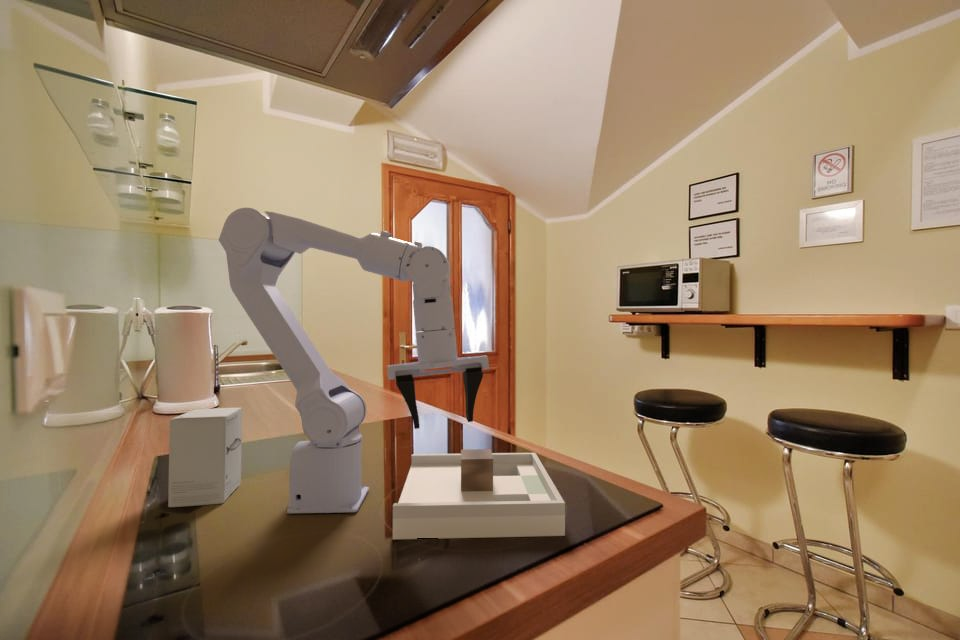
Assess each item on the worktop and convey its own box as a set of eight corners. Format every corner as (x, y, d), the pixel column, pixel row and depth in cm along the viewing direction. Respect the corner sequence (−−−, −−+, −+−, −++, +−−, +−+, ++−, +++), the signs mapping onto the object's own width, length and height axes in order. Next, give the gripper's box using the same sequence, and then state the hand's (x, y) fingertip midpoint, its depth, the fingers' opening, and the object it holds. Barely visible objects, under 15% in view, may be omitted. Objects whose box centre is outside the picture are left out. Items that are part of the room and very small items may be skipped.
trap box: (392, 539, 50) (392, 506, 50) (411, 477, 70) (412, 454, 70) (565, 535, 51) (565, 502, 51) (535, 476, 71) (535, 452, 71)
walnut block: (461, 491, 58) (461, 459, 58) (461, 479, 62) (461, 449, 62) (493, 490, 58) (493, 458, 58) (490, 479, 63) (490, 449, 63)
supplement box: (224, 504, 59) (225, 416, 59) (166, 508, 58) (167, 418, 58) (242, 484, 67) (243, 406, 67) (191, 488, 65) (192, 408, 65)
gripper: (382, 335, 55) (391, 437, 55) (488, 325, 57) (497, 423, 57) (386, 335, 62) (394, 425, 62) (480, 326, 64) (488, 413, 64)
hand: (443, 423), depth 60 cm, fingers open, 7 cm apart
